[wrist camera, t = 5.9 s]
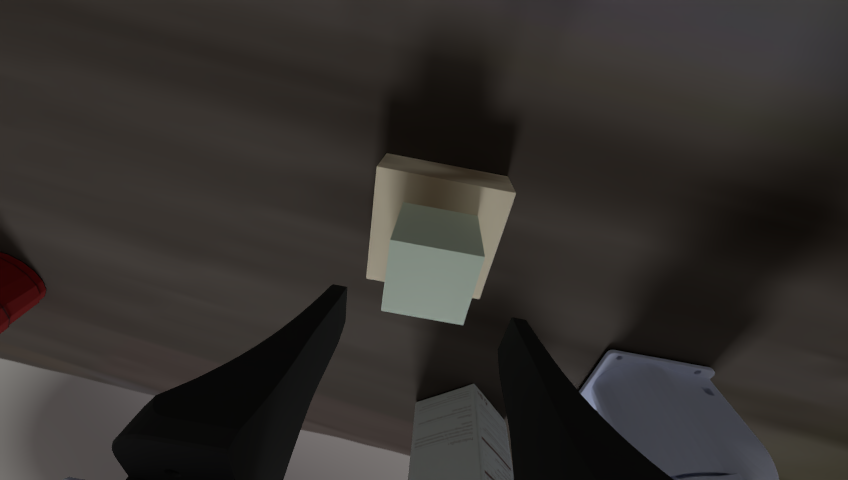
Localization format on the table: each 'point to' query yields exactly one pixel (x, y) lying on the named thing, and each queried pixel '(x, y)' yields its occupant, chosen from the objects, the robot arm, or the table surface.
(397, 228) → the sage cube
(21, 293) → the plastic cup
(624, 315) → the table surface
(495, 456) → the supplement box
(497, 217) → the beech base
